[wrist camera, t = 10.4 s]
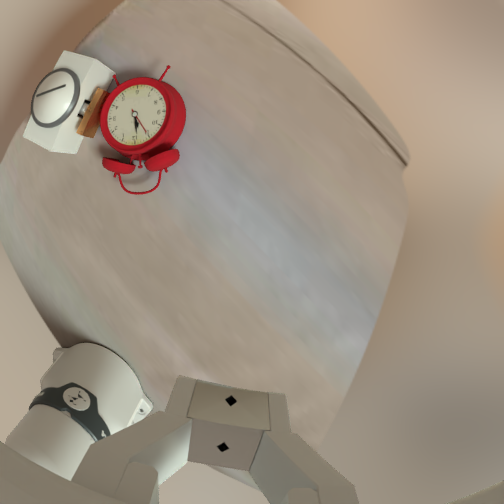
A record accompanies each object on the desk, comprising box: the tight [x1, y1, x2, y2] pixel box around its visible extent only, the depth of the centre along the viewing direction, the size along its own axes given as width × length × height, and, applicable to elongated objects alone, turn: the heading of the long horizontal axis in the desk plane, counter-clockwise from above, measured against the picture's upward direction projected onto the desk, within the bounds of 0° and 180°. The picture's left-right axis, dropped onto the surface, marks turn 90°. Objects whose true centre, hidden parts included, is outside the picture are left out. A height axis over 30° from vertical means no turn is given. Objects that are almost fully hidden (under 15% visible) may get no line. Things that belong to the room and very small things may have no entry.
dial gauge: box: [23, 50, 116, 154], centre depth 29 cm, size 12×8×7 cm, turn 152°
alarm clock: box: [100, 65, 186, 194], centre depth 31 cm, size 10×6×15 cm
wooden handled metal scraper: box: [76, 88, 110, 138], centre depth 30 cm, size 6×6×3 cm
